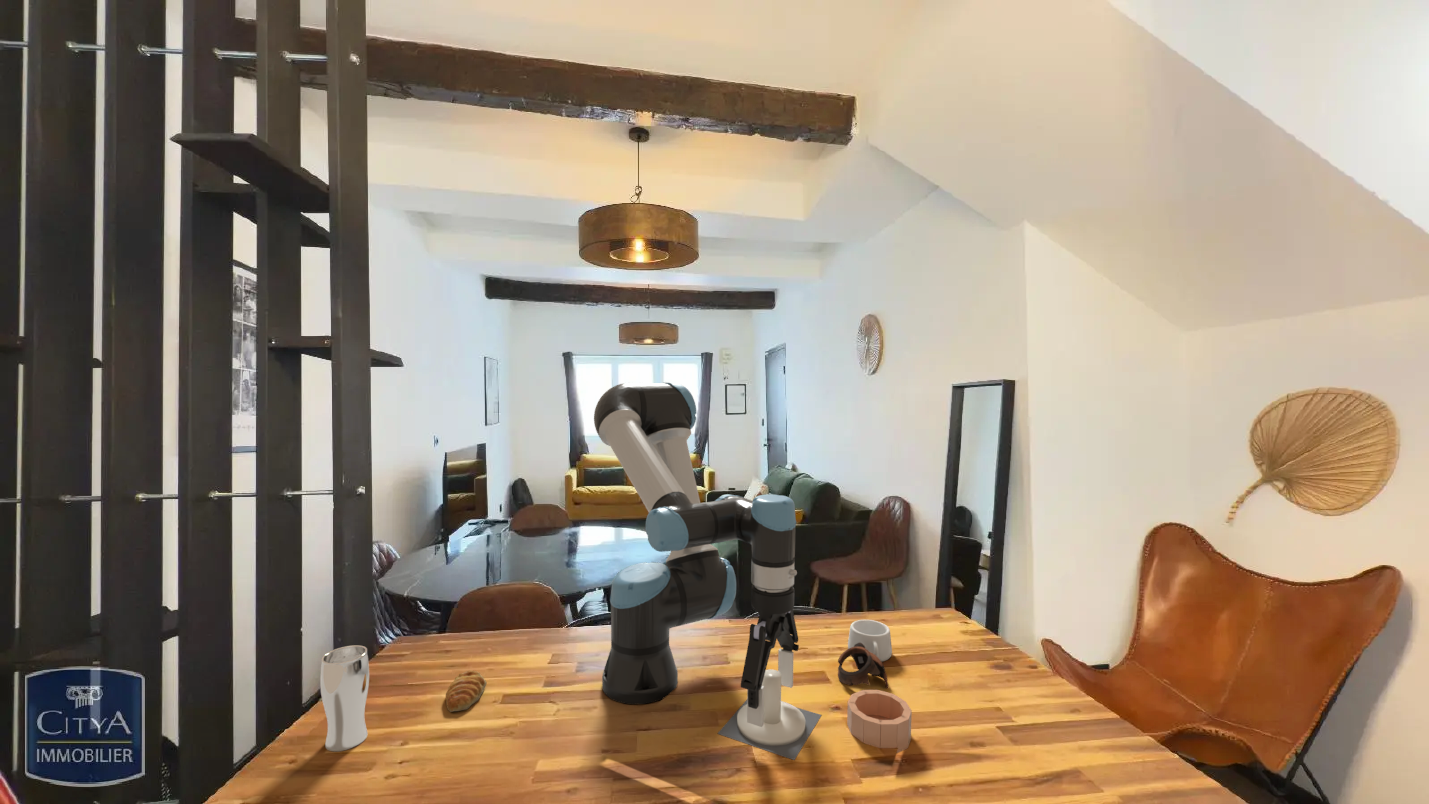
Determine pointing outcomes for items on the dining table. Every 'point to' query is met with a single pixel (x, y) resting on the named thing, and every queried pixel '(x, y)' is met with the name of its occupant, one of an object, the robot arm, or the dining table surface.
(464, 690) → the pastry
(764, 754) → the dining table surface
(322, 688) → the beer glass
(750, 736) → the lid
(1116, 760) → the dining table surface
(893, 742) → the bowl
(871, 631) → the mug
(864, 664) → the broken pottery
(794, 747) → the mat
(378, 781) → the dining table surface
